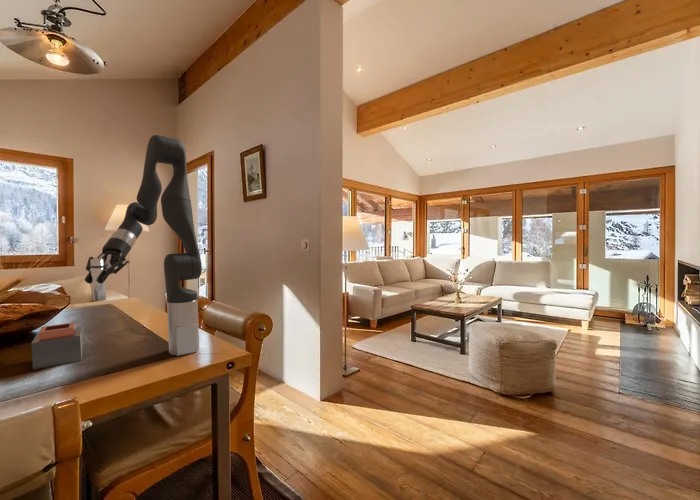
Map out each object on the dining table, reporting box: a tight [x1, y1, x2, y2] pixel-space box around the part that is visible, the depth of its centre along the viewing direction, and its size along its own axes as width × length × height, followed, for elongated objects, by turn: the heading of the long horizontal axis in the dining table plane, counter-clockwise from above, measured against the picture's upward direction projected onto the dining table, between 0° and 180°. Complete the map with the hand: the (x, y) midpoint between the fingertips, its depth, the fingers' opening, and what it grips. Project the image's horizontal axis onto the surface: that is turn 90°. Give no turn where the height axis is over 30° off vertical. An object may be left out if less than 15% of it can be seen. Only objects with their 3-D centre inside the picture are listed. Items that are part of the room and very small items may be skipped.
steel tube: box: [90, 259, 107, 302], centre depth 110 cm, size 4×4×14 cm
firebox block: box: [30, 321, 84, 371], centre depth 103 cm, size 11×11×10 cm
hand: (93, 281), depth 108 cm, fingers closed on steel tube, 3 cm apart
